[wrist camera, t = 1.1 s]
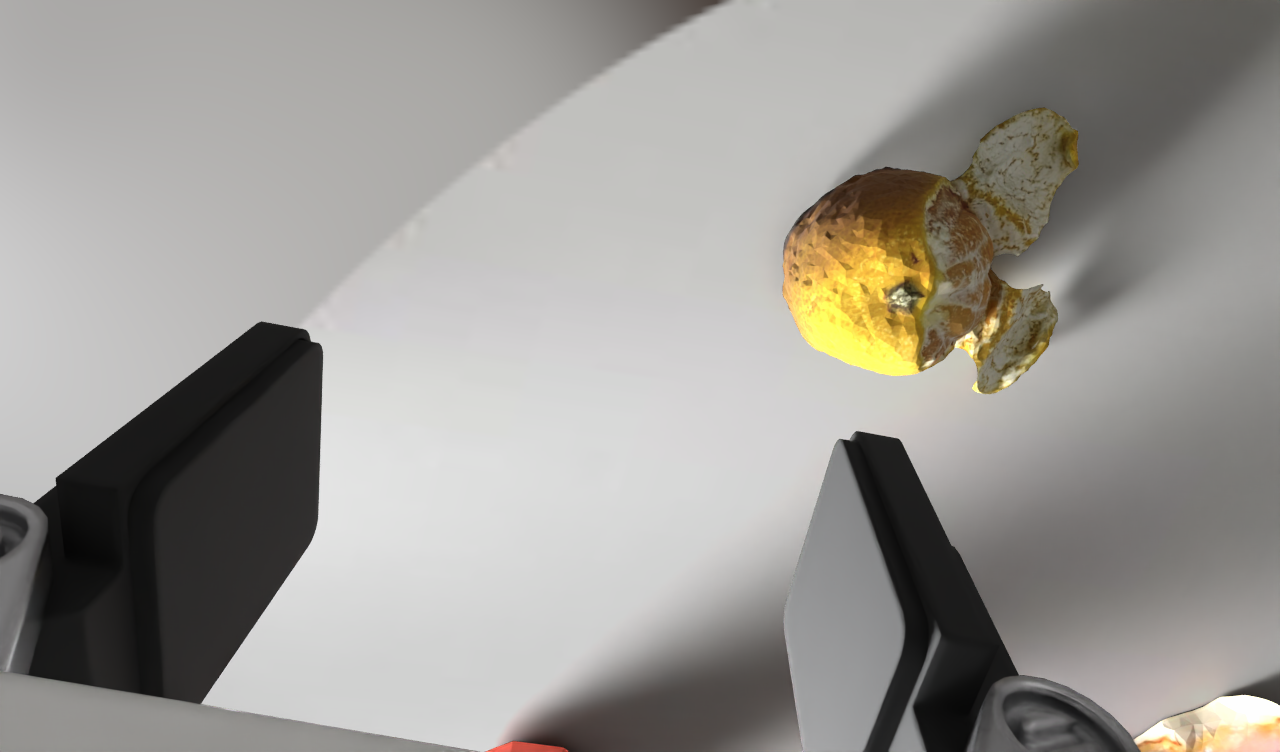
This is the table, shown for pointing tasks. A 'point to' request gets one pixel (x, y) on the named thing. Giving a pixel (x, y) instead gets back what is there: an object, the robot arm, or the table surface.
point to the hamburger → (1218, 728)
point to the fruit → (933, 259)
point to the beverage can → (526, 748)
